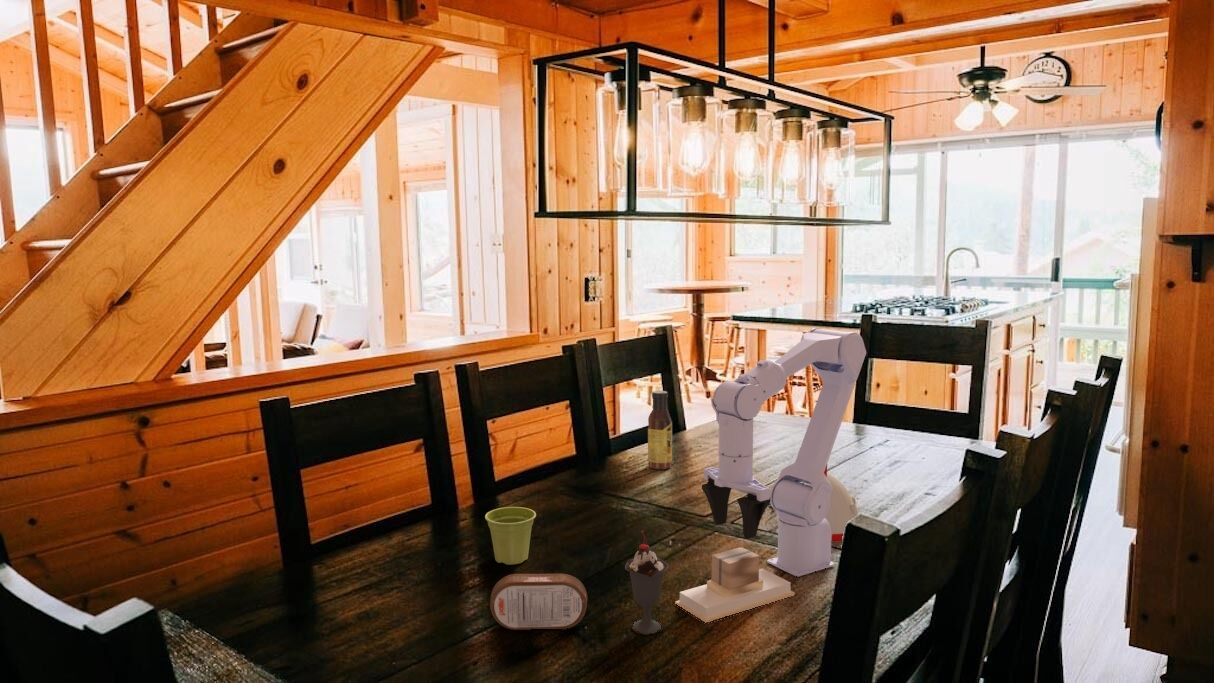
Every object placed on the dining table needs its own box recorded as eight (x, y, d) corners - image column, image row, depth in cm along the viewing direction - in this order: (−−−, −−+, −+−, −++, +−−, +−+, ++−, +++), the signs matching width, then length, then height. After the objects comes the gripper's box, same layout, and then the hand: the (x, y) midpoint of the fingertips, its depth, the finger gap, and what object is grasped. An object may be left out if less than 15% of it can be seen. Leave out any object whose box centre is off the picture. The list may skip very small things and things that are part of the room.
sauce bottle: (672, 470, 213) (673, 394, 210) (648, 470, 213) (648, 394, 211) (671, 463, 220) (671, 389, 217) (647, 463, 220) (647, 389, 217)
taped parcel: (743, 577, 142) (744, 545, 141) (763, 587, 138) (763, 554, 137) (706, 587, 138) (707, 555, 137) (725, 598, 134) (726, 565, 133)
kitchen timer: (857, 521, 176) (860, 452, 174) (858, 545, 163) (861, 470, 161) (790, 515, 180) (792, 448, 178) (786, 538, 166) (788, 465, 164)
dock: (675, 604, 137) (675, 591, 136) (762, 579, 147) (762, 566, 146) (705, 624, 130) (705, 610, 130) (794, 595, 140) (794, 582, 140)
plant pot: (481, 553, 159) (480, 509, 158) (529, 546, 162) (528, 503, 161) (492, 572, 150) (491, 526, 149) (542, 564, 153) (541, 519, 152)
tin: (587, 622, 131) (587, 571, 130) (587, 631, 128) (587, 579, 127) (491, 623, 131) (490, 572, 129) (489, 633, 127) (488, 581, 126)
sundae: (641, 613, 134) (642, 524, 132) (676, 626, 129) (677, 533, 127) (616, 629, 128) (615, 535, 126) (651, 642, 124) (651, 546, 122)
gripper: (690, 447, 144) (689, 522, 146) (747, 466, 132) (746, 548, 134) (721, 441, 148) (720, 514, 150) (779, 459, 136) (778, 539, 137)
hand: (734, 530), depth 142 cm, fingers open, 7 cm apart
